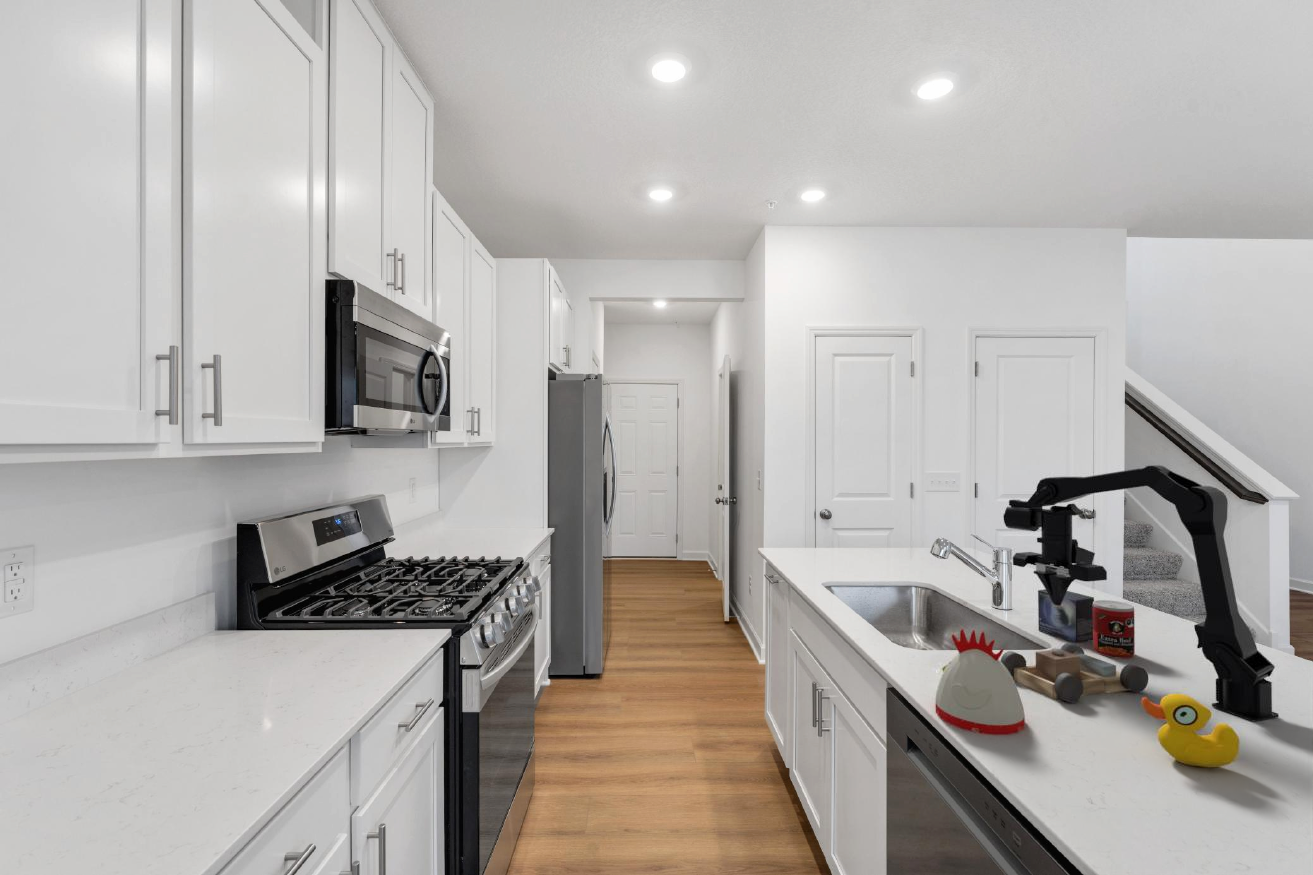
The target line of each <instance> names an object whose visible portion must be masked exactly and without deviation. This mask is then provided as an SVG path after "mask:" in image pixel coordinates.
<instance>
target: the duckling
mask: <svg viewBox="0 0 1313 875" xmlns="http://www.w3.org/2000/svg"><path fill="white" fill-rule="evenodd" d="M1141 705H1142V707H1143V709H1144V711H1145V712H1146V713H1147V715H1149V716H1151V717H1152V718H1154V719H1157V720H1161V721H1162V720H1163V721H1166V723H1165V724H1163V725H1162V726H1160V728H1159V729H1158V732H1157V739H1158V741H1159V744H1160V746H1161V747H1162V748H1163V749H1164V750H1165V751H1166V752H1167V753H1168V754H1169V756H1171V757H1172V758H1173V759H1174V760H1176V761H1177V762H1179V763H1181V764H1184V765H1186V766H1187V765H1188V766H1194V767H1203V768H1216V767H1222V766H1227V765H1230V764H1232V763H1233V762H1235V760H1236V759H1238V758H1237V757H1238V755H1239V751H1240V739H1239V736H1238V734H1237V733H1236V731H1235V730H1234V729H1233V728H1232V727H1231V726H1230V725H1228V724H1226V723H1224V722H1223V723H1222V722H1220V723H1219V722H1218V723H1217V724H1216V725H1215V726H1214V728H1213V730H1212V731H1211V732H1212V733H1211V734H1209V733H1208V734H1204V735H1199V734H1198V733H1197V732H1198V731H1200V730H1202V729H1204V727H1205V726H1206V725H1207V723H1208V722H1209V721H1210V719H1211V718H1212V711H1211V710H1210V708H1208V707H1207V706H1205V705H1204V704H1202V703H1200V702H1199V701H1197V700H1196V699H1194V698H1193V697H1191V696H1189V695H1186V694H1183V693H1171V694H1167V695H1165V696H1163V697H1162V698H1161V700H1160V703H1159V704H1156V703H1154V702H1152V701H1150V700H1149V699H1148V698H1147V697H1146V696H1144V697H1143V698H1142V699H1141Z"/></svg>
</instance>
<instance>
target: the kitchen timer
mask: <svg viewBox="0 0 1313 875" xmlns="http://www.w3.org/2000/svg"><path fill="white" fill-rule="evenodd" d="M959 633H960V634H959V638H957V636H956V635H955V634H954V633H953V634H952V635H951V638H952V641H953V644H954V646H955V648H956V649H957V651H958V653H957V654H956V655H955V656H954V657H953V658H952V659H951V660H950V661H949V662H948V663H947V664H945V665H944V666H943V667H942V668H941V670H942V674H941V677H940V679H939V682H938V685H937V689H936V692H935V714H936V715H937V716H938V717H939V718H940V719H941V720H943V721H944V722H946V723H948V724H950V725H952V726H954V727H956V728H959V729H962V730H965V731H969V732H974V733H977V734H982V735H983V734H984V735H991V736H992V735H994V736H1009V735H1014V734H1018V733H1020V732H1021V731H1023V730H1024V728H1025V726H1026V725H1025V724H1026V719H1025V717H1026V716H1025V710H1024V709H1025V708H1024V705H1023V701H1022V699H1021V696H1020V692H1019V690H1018V688H1017V685H1016V681H1014V677H1012V676H1011V674H1010V673H1009V671H1008V670H1007V668H1006V667H1005V666H1004V665H1003V663H1002V662H1001V657H1002V655H1003V652H1004V647H1002V648H1001V649H1000V650H999V652H997V653H994V652H993V647H994V644H995V639H992V640H991V641H990V642H989V644H988V645H987V642H986V635H985V631H984V630H983V631H982V632H981V633H980V637H979V640H978V641H977V636H976V631H975V629H973V630H972V632H971V635H970V637H969V641H968V639H967V636H966V634H965V631H964V629H963V628H962V629H960V631H959Z"/></svg>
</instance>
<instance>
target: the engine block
mask: <svg viewBox="0 0 1313 875" xmlns="http://www.w3.org/2000/svg"><path fill="white" fill-rule="evenodd" d="M1035 665H1036V676H1038V677H1041V678H1043V679H1045V680H1048V681H1050V682H1053V683H1055V681H1056V679H1057V677H1058V676H1059V675H1060V674H1062V673H1069V674H1071V675H1074V676H1076V677H1078V678H1080V656H1078V655H1075V654H1072V653H1069V652H1066V651H1064V650H1061V648H1056V647H1055V648H1051V649H1049V650H1041V651H1035Z"/></svg>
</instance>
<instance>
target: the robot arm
mask: <svg viewBox="0 0 1313 875" xmlns="http://www.w3.org/2000/svg"><path fill="white" fill-rule="evenodd" d="M1036 485H1037V486H1036V490H1035V491H1034V493H1033V494H1032V495H1031V496H1030V498H1029V499H1028V500H1020V499H1009V500H1008V505H1007V506H1006V508H1005V511H1004V513H1003V523H1004V525H1005V527H1006V528H1008V529H1011V530H1019V531H1030V532H1037V531H1038V530H1039V529H1040V528H1041V534H1040V535H1041V537H1037V538H1036V542H1037V543H1040V544H1041V553H1039V552H1033V551H1025V552H1015V554H1013V556H1012V565H1013V566H1015V567H1016V566H1017V567H1019V568H1020V567H1021V568H1024V567H1025V566H1027V565H1033V566H1035V570H1033V574H1034V575H1036V576H1037V577H1038V579H1039V581H1040V582H1041V583H1042V585H1043V587H1044V589H1046V591H1047V592H1048V594H1049V596H1050V598H1051V600H1052V602H1053V604H1054V605H1057V606H1059V605H1061V603H1062V601H1063V599H1064V596H1065V594H1066V592H1067V591H1068V590H1069V587H1070V586H1071V584H1072V583H1073V582H1074V581H1075V580H1077V581H1080V582H1081V581H1082V582H1088V583H1089V582H1098V581H1099V582H1100V581H1107V580H1108V571H1107V570H1106V568H1105V567H1104V566H1102V565H1098V564H1093V562H1094V558H1095V555H1096V553H1095V552H1093V551H1090V550H1088V549H1086V548H1083V547H1079V542H1078V539H1075V538H1073V516H1081V515H1084V511H1083V510H1082V509H1081V508H1080V507H1078V506H1077V505H1076V504H1075V503H1069V502H1072V501H1076V500H1078V499H1082V498H1085V497H1088V496H1089V495H1093V494H1098V493H1105V492H1113V491H1114V492H1115V491H1121V490H1128V489H1135V488H1142V487H1148V488H1150V489H1152V490H1153V491H1154V492H1155V493H1157V494H1158V495H1159V496H1160V497H1162V498H1163V499H1164V500H1166V501H1168V502H1169V503H1171V504H1173V505H1174V506H1175V508H1176V509H1175V510H1176V512H1177V514H1178V517H1179V519H1180V521H1181V523H1182V525H1183V526H1184V528H1185V529H1186V530H1187V532H1188V534H1189V535H1190V537H1191V540H1192V546H1193V551H1194V556H1195V560H1196V566H1197V567H1196V568H1197V572H1198V577H1199V582H1200V587H1201V593H1202V598H1203V603H1204V609H1205V619H1204V621H1202V622H1200V623H1197V624H1194V631H1195V634H1196V637H1197V646H1196V648H1197V649H1201V651H1202V654H1203V656H1204V658H1205V659H1206V660H1207V661H1209V662H1210V663H1212V666H1213V668H1214V670H1215V673H1216V675H1217V678H1216V679H1215V701H1216V702H1213V703H1212V705H1211V706H1212V707H1213V708H1216V709H1219V710H1221V711H1224V712H1227V713H1228V714H1229V713H1230V714H1232V715H1235V716H1238V717H1240V718H1243V719H1247V720H1250V721H1253V722H1257V721H1262V720H1268V719H1274V718H1278V717H1279V713H1278V712H1275V711H1273V694H1272V693H1273V691H1272V690H1273V689H1272V688H1273V687H1272V685H1273V684H1272V683H1273V682H1272V681H1269V680H1268V679H1266V678H1267V677H1270V676H1271V675H1272V674H1273V672H1274V670H1275V667H1276V666H1275V665H1274V664H1273V663H1272V662H1271V661H1270V660H1269V659H1268V658H1267V657H1266V656H1264V655H1263V654H1262V653H1261V651H1260V650H1258V647H1257V644H1256V642H1255V639H1254V637H1253V634H1252V632H1251V629H1250V628H1249V626H1248V624H1246V622H1245V620H1244V619H1243V618H1242V616H1241V615H1240V612H1239V609H1238V604H1237V598H1236V594H1235V587H1234V582H1233V577H1232V573H1231V567H1230V561H1229V558H1228V552H1227V547H1226V541H1225V537H1224V533H1225V528H1226V525H1227V520H1228V508H1229V507H1228V505H1229V503H1228V502H1229V501H1228V497H1227V496H1226V494H1225V492H1224V491H1221V490H1220V489H1218V488H1217V487H1214V486H1207V485H1202V484H1200V483H1198V482H1196V481H1194V480H1192V479H1190V478H1188V477H1186V476H1183V475H1180V474H1178V473H1176V472H1173V471H1172V470H1170V469H1169V468H1167V467H1166V466H1164V465H1159V464H1154V465H1145V466H1143V467H1140V468H1134V469H1133V468H1132V469H1128V470H1121V471H1114V472H1110V473H1107V472H1106V473H1102V474H1096V475H1089V476H1054V477H1053V476H1052V477H1051V476H1050V477H1044V478H1042V479H1040V480H1039V482H1038V483H1037V484H1036ZM1063 503H1067V505H1066V506H1062V505H1057V504H1063ZM1049 506H1050V507H1049ZM1043 507H1049V508H1043Z"/></svg>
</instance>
